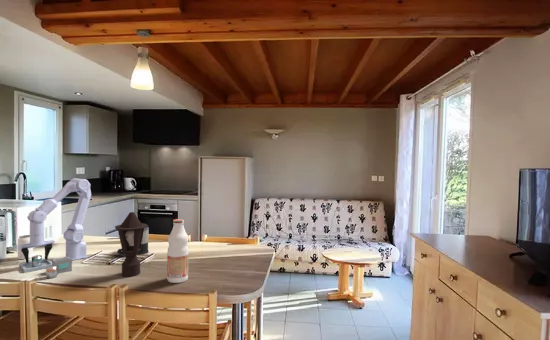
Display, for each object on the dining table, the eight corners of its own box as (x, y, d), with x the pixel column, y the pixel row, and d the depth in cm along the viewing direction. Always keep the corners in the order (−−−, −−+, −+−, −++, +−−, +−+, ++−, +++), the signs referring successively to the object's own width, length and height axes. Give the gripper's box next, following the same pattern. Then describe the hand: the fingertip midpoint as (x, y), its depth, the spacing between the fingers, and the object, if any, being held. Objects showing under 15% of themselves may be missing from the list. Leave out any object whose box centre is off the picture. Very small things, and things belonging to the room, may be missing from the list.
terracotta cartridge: (55, 274, 148) (55, 264, 148) (58, 277, 146) (58, 266, 146) (45, 277, 145) (45, 266, 145) (47, 279, 143) (47, 268, 143)
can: (15, 260, 168) (15, 237, 167) (21, 256, 174) (21, 235, 174) (29, 259, 169) (29, 237, 169) (35, 255, 176) (35, 234, 175)
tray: (48, 261, 167) (48, 258, 167) (54, 266, 159) (54, 264, 159) (19, 266, 158) (19, 263, 158) (24, 272, 150) (24, 269, 150)
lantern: (147, 267, 162) (148, 209, 161) (147, 277, 148) (148, 214, 147) (115, 270, 156) (116, 210, 155) (112, 281, 143) (112, 215, 142)
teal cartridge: (41, 264, 161) (41, 254, 161) (42, 266, 158) (42, 256, 158) (31, 266, 158) (31, 256, 158) (32, 268, 155) (32, 258, 155)
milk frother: (151, 250, 190) (152, 226, 190) (137, 258, 175) (137, 232, 174) (129, 249, 192) (130, 225, 192) (113, 257, 176) (113, 231, 176)
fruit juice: (173, 285, 140) (174, 222, 139) (163, 279, 146) (164, 219, 145) (192, 279, 147) (193, 220, 146) (181, 274, 153) (182, 217, 152)
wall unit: (68, 268, 158) (68, 255, 158) (72, 270, 154) (72, 258, 154) (51, 271, 153) (52, 258, 152) (55, 274, 149) (55, 261, 149)
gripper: (51, 230, 166) (51, 256, 166) (16, 235, 155) (16, 262, 156) (55, 233, 161) (55, 259, 162) (19, 237, 151) (19, 265, 151)
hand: (36, 261), depth 158 cm, fingers open, 7 cm apart
